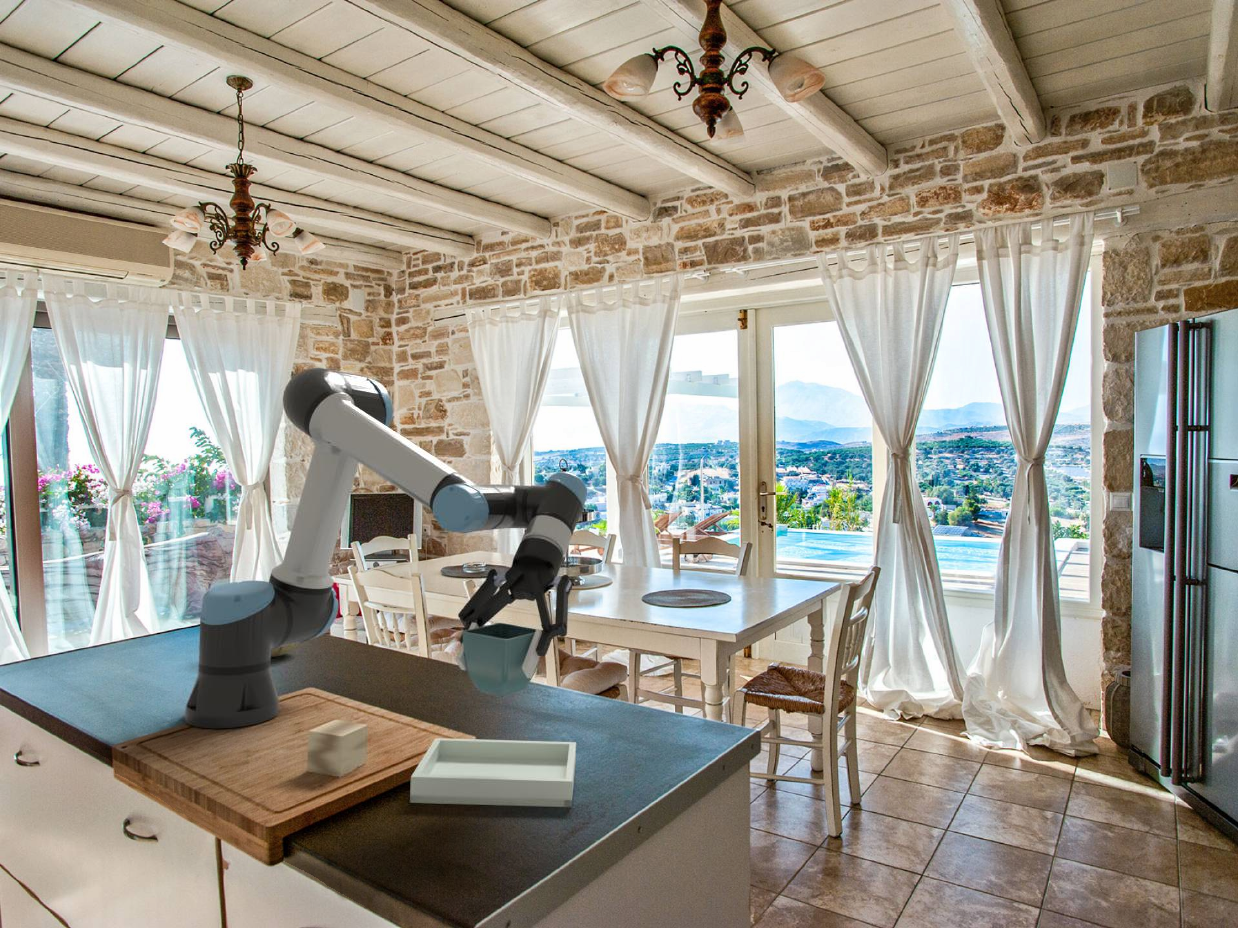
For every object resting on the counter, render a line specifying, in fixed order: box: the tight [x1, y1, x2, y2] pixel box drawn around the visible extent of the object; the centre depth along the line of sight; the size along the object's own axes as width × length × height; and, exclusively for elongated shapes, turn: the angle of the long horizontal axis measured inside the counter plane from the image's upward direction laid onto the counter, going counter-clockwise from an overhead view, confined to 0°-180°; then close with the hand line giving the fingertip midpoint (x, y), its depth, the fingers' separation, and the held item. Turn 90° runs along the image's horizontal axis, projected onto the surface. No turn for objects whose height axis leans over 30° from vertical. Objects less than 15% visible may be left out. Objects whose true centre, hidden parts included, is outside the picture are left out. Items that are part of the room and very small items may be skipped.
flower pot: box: [461, 622, 543, 697], centre depth 117 cm, size 9×9×9 cm
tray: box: [409, 737, 577, 808], centre depth 116 cm, size 22×16×4 cm
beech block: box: [306, 719, 369, 778], centre depth 120 cm, size 6×6×6 cm
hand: (493, 668), depth 114 cm, fingers closed on flower pot, 10 cm apart
